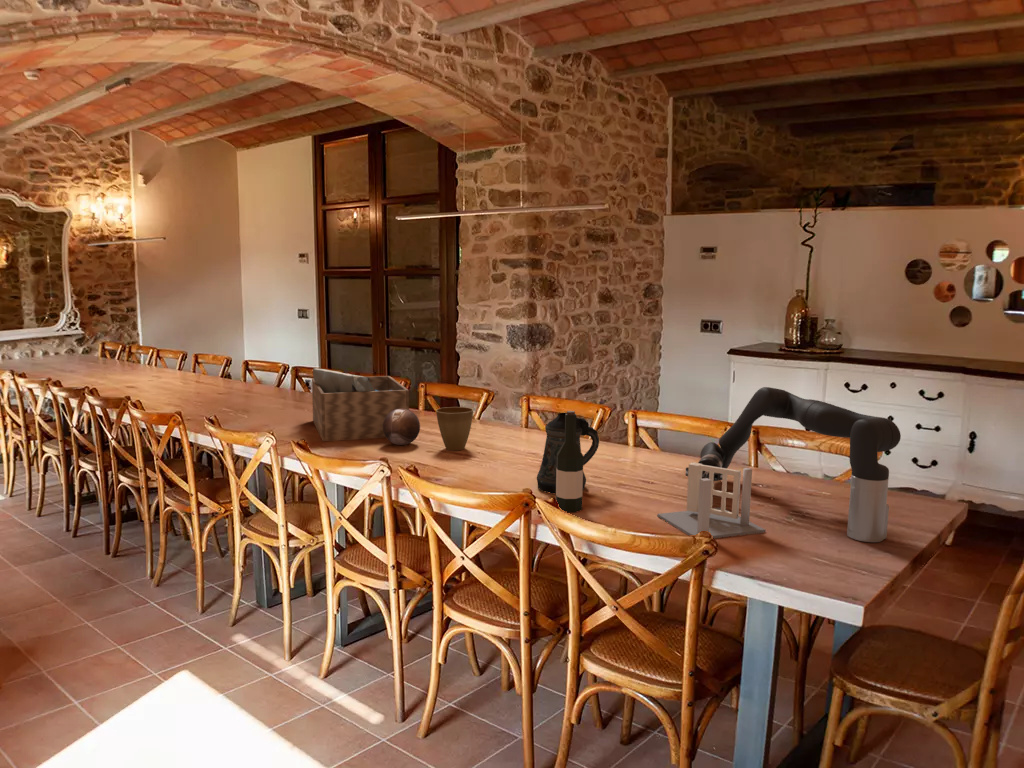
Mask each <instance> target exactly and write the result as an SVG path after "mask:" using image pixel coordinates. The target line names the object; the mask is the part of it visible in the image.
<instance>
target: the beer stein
mask: <svg viewBox="0 0 1024 768" xmlns="http://www.w3.org/2000/svg"><path fill="white" fill-rule="evenodd" d="M565 414H567V412H559V413H558V414H557V416H556V417H555V418H553V419H552V420H551V421H549V422H547V424H546V425H545V427H544V429H545V433H546V439H545V444H544V450H543V455H542V461H541V465H540V467H539V471H538V473H537V475H536V481H537V482H536V483H537V488H538V489H539V491H541V492H544V491H546V492H545V493H548V492H550V493H549V494H553V493H556V467H557V453H558V451H559V449H560V448H561V446H562V445H563V443H564V442H565ZM581 436H583V437H584V436H589V437H590V438H591V441H592V442H591V446H590V447H589V449H588V450H587V452H585V453H584V455H583V467H584V466H585V465H586V464H587V463H589V462H590V460H591V459H592V458H593V457H594V456H595V454H596V453H597V451H598V449H599V446H600V445H599V444H600V437H599V432H598V431H597V430H596V429H595V428H593V427H591V426H590V424H589V422H588V421H587V420H586V419H585V418H582V417H577V416H576V443H577V445H578V447H579V449H580V451H581V452H582V447H581ZM586 483H587V477H586V475H585V472H584V471H583V491H584V490H585V487H586Z"/></svg>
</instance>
